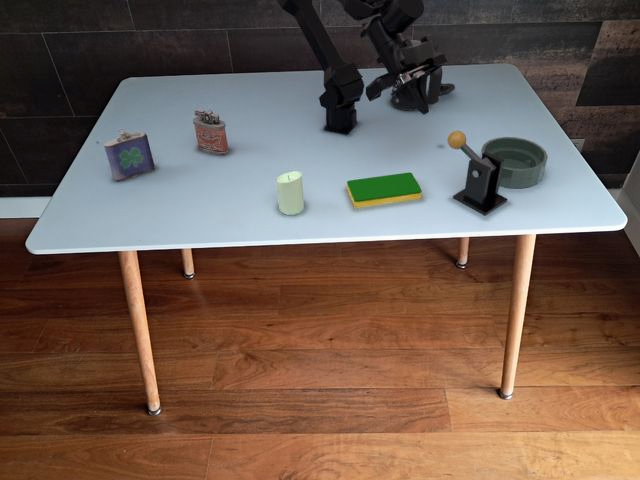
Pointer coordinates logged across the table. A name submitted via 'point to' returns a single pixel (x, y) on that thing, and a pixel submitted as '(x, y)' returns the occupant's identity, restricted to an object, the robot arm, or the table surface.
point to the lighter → (210, 133)
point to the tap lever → (467, 148)
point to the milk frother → (433, 92)
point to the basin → (518, 161)
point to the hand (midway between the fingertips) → (426, 113)
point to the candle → (290, 193)
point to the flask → (129, 155)
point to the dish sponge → (383, 189)
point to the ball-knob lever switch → (482, 186)
